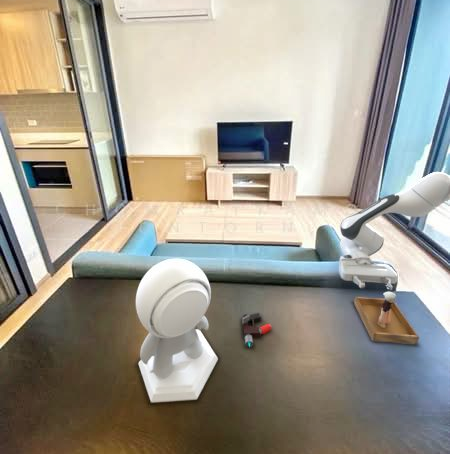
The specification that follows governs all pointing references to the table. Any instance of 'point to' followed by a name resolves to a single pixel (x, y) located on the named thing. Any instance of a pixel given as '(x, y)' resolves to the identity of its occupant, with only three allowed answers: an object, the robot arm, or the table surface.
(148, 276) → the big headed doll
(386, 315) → the grandmother figurine
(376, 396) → the table surface
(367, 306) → the shallow wooden tray
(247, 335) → the toy gun
